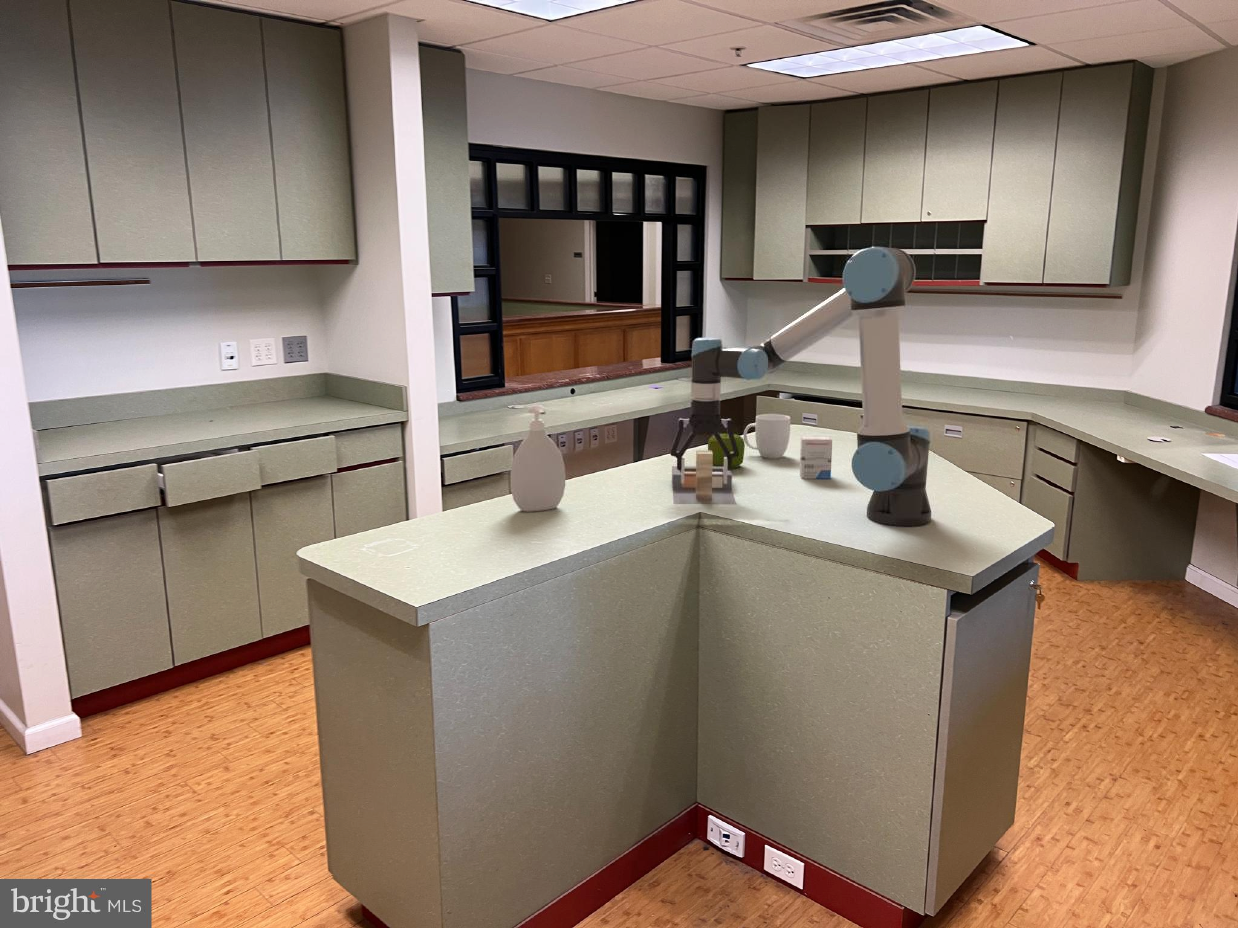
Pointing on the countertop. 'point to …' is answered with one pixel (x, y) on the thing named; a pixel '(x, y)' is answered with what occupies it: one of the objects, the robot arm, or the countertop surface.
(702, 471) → the birch plug
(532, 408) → the soap bottle
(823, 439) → the ink box
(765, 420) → the mug
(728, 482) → the socket station
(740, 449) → the apple
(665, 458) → the countertop surface
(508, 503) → the countertop surface
